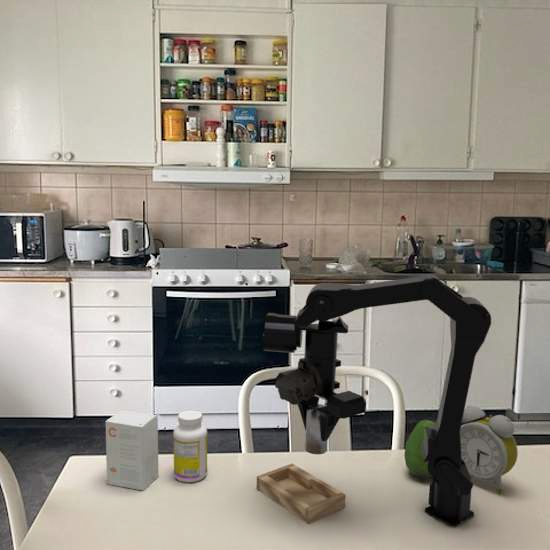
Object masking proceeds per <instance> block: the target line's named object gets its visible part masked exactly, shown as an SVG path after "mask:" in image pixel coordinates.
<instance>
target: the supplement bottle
mask: <svg viewBox="0 0 550 550" xmlns="http://www.w3.org/2000/svg"><path fill="white" fill-rule="evenodd" d="M177 418H178V419H177V421H178V425H177V426H176V427H174V429H173V435H172V436H173V476H174V477H175V479H176V480H178V481H180V482H184V483H194V482H195V483H196V482H199V481H201V480H202V479H204V478H206V476H207V473H208V429H207V427H206V426H205V424H203V423H202V422H203V414H202V412H201V411H198V410H185V411H182V412H180V413H178V417H177Z"/></svg>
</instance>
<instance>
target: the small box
mask: <svg viewBox="0 0 550 550" xmlns="http://www.w3.org/2000/svg"><path fill="white" fill-rule="evenodd" d="M158 417H159V416H158V414H153V413H146V412H139V411H133V410H127V409H125V410H124V409H121V410H120V411H118V412H117V413H116V414H114V415H112V416H111V417H110V418H108V419H106V420H105V422H104V423H105V448H106V450H105V452H106V453H105V455H106V458H105V459H106V485H111V486H116V487H117V486H118V487H123V488H128V489H131V490H132V489H133V490H136V491H137V490H138V491H145V490H146V488H148V487H149V486H150V485H151V484H152V483H154V481H155V480H156V479H157V478H158V477H159V476H160V475H159V471H160V470H159V428H158V427H159V426H158V425H159V423H158V422H159V421H158Z"/></svg>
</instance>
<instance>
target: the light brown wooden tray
mask: <svg viewBox="0 0 550 550" xmlns="http://www.w3.org/2000/svg"><path fill="white" fill-rule="evenodd" d="M256 489H257V490H258V491H259V492H260V493H262V494H263V495H265V496H267V497H268V498H270V499H272V500H273V501H274V502H276V503H277V504H278V505H280V506H282V507H283V508H284V509H286V510H288V512H290V513H292V514H294V515H295V516H297V518H299V519H301V520H303V521H304V522H305V523H307V524H309V525H310V524H311V523H314V522H315V521H318V520H321V519H322V518H325V517H327V516H329V515H331V514H333V513H336V512H339V510H342V509H344V508H346V500H347V498H346V493H344V492H342V491H341V490H339V489H337V488H336V487H333V486H332V485H331V484H328V483H326V482H325V481H323V480H321V479H320V478H318V477H316V476H315V475H313V474H311V473H309V472H308V471H306V470H304V469H302V468H300V467H299V466H298V465H295V464H294V463H290V464H286V465H285V466H281V467H279V468H276V469H274V470H270V471H268V472H265V473H262V474H259V475H257V476H256Z"/></svg>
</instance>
